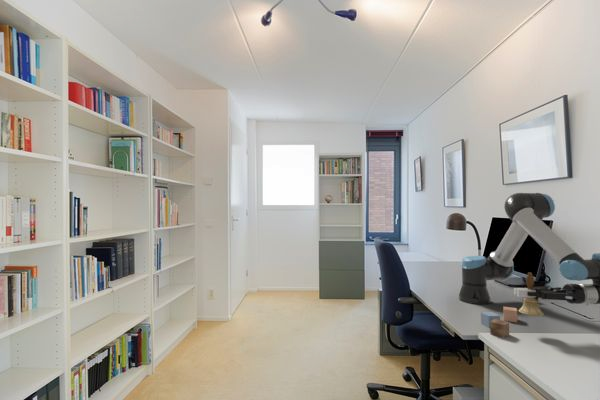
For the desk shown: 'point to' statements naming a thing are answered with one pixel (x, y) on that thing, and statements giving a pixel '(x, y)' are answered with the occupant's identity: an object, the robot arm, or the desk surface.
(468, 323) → the desk surface
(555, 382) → the desk surface
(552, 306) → the desk surface
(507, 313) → the terracotta block
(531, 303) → the hand bell
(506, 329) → the walnut block
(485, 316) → the slate-blue block
